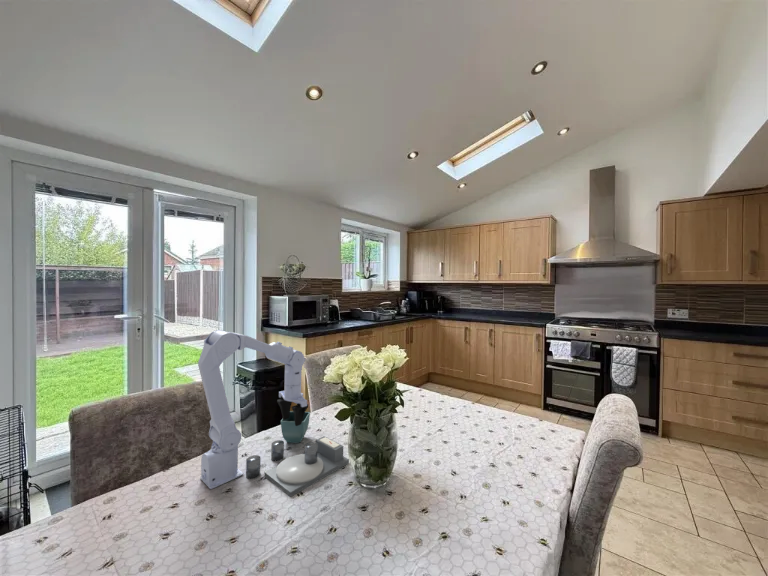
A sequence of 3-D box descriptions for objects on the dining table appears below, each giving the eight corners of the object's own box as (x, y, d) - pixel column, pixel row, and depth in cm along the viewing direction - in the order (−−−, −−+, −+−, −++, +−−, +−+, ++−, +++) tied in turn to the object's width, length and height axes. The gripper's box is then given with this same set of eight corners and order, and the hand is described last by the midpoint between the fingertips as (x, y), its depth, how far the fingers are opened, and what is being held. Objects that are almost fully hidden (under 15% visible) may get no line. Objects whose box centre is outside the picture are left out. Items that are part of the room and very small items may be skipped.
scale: (290, 496, 87) (290, 476, 87) (264, 475, 96) (264, 457, 96) (348, 463, 103) (349, 446, 103) (322, 448, 112) (322, 432, 112)
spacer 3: (309, 466, 97) (309, 450, 97) (301, 461, 100) (302, 445, 100) (319, 460, 100) (320, 445, 100) (312, 456, 103) (312, 441, 103)
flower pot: (303, 446, 113) (304, 421, 113) (279, 445, 114) (280, 421, 114) (310, 434, 122) (310, 411, 122) (287, 434, 122) (287, 411, 122)
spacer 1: (250, 480, 93) (250, 464, 93) (243, 475, 96) (243, 459, 96) (262, 474, 96) (262, 458, 96) (256, 469, 99) (256, 453, 99)
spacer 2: (275, 462, 103) (275, 447, 103) (268, 458, 105) (269, 443, 105) (286, 457, 106) (286, 443, 106) (279, 453, 108) (279, 439, 108)
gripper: (314, 385, 110) (313, 424, 110) (291, 377, 119) (290, 412, 119) (297, 390, 105) (296, 430, 105) (274, 381, 114) (273, 418, 114)
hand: (292, 421), depth 112 cm, fingers open, 7 cm apart
